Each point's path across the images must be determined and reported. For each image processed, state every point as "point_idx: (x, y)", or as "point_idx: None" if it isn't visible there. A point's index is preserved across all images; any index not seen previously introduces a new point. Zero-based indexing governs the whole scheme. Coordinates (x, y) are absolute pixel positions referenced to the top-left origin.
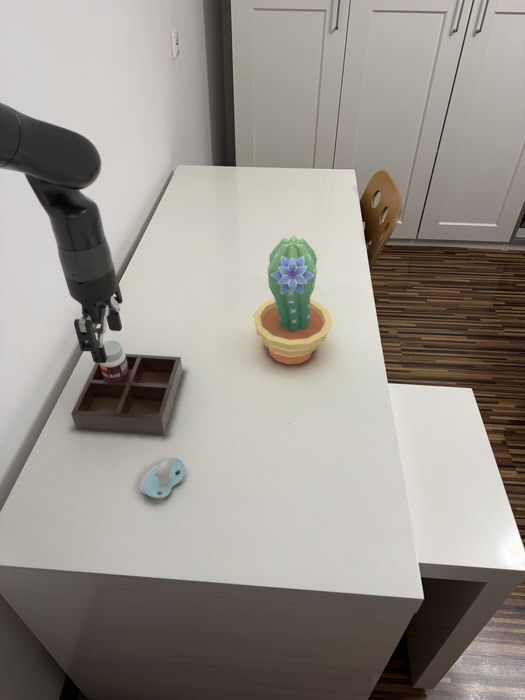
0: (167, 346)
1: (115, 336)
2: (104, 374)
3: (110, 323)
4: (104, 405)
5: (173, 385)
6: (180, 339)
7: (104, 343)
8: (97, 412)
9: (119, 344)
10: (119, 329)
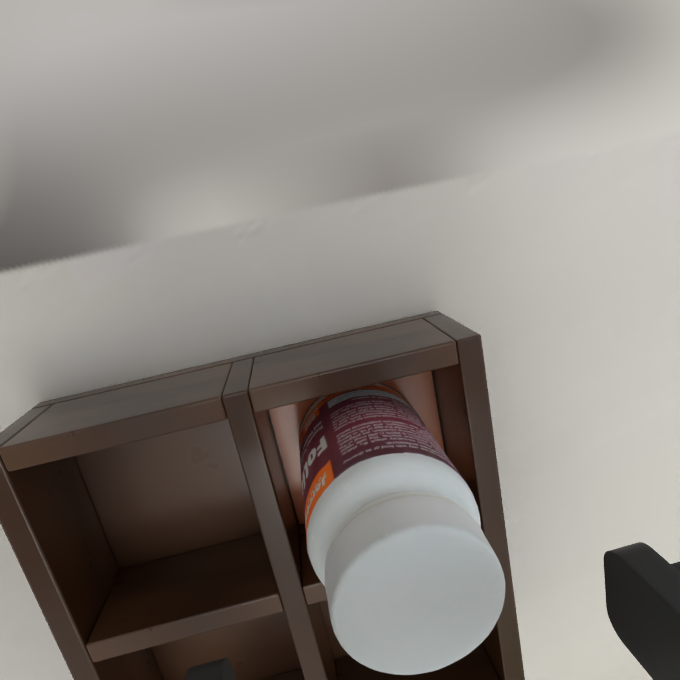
0: (621, 496)
1: (658, 238)
2: (306, 469)
3: (668, 628)
4: (202, 454)
5: None
6: (669, 523)
7: (457, 547)
8: (47, 573)
9: (474, 642)
10: (620, 627)
